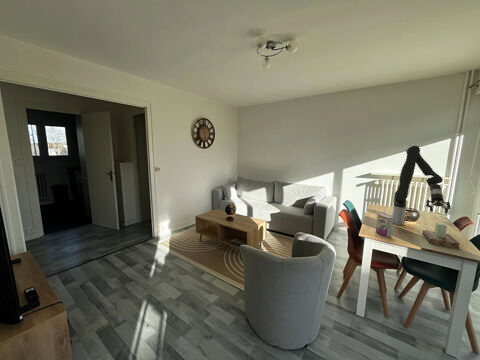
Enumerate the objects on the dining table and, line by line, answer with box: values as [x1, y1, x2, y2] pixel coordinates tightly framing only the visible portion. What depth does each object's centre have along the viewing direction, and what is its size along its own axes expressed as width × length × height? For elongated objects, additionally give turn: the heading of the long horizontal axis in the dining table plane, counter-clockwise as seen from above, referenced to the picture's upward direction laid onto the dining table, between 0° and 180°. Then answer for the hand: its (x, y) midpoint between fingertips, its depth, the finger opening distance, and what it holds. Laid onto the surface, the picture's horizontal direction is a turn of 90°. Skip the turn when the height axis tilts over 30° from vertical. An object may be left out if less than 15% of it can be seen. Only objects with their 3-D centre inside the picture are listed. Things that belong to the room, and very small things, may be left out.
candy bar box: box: [375, 213, 394, 238], centre depth 172 cm, size 11×5×16 cm, turn 9°
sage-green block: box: [434, 222, 448, 238], centre depth 159 cm, size 5×5×10 cm
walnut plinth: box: [422, 229, 460, 249], centre depth 160 cm, size 16×20×4 cm
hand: (439, 212), depth 165 cm, fingers open, 8 cm apart
